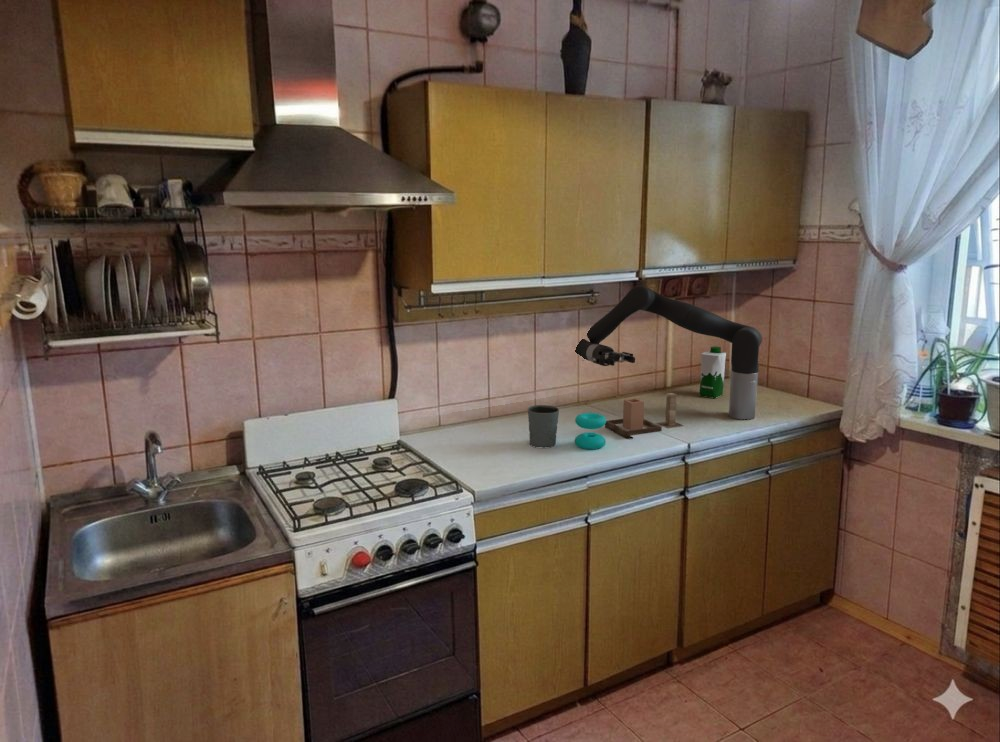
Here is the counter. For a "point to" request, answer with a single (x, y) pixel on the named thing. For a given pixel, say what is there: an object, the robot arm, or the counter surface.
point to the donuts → (589, 438)
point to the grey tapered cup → (543, 425)
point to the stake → (670, 412)
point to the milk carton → (712, 372)
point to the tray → (627, 434)
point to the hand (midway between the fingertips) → (623, 361)
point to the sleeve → (633, 414)
